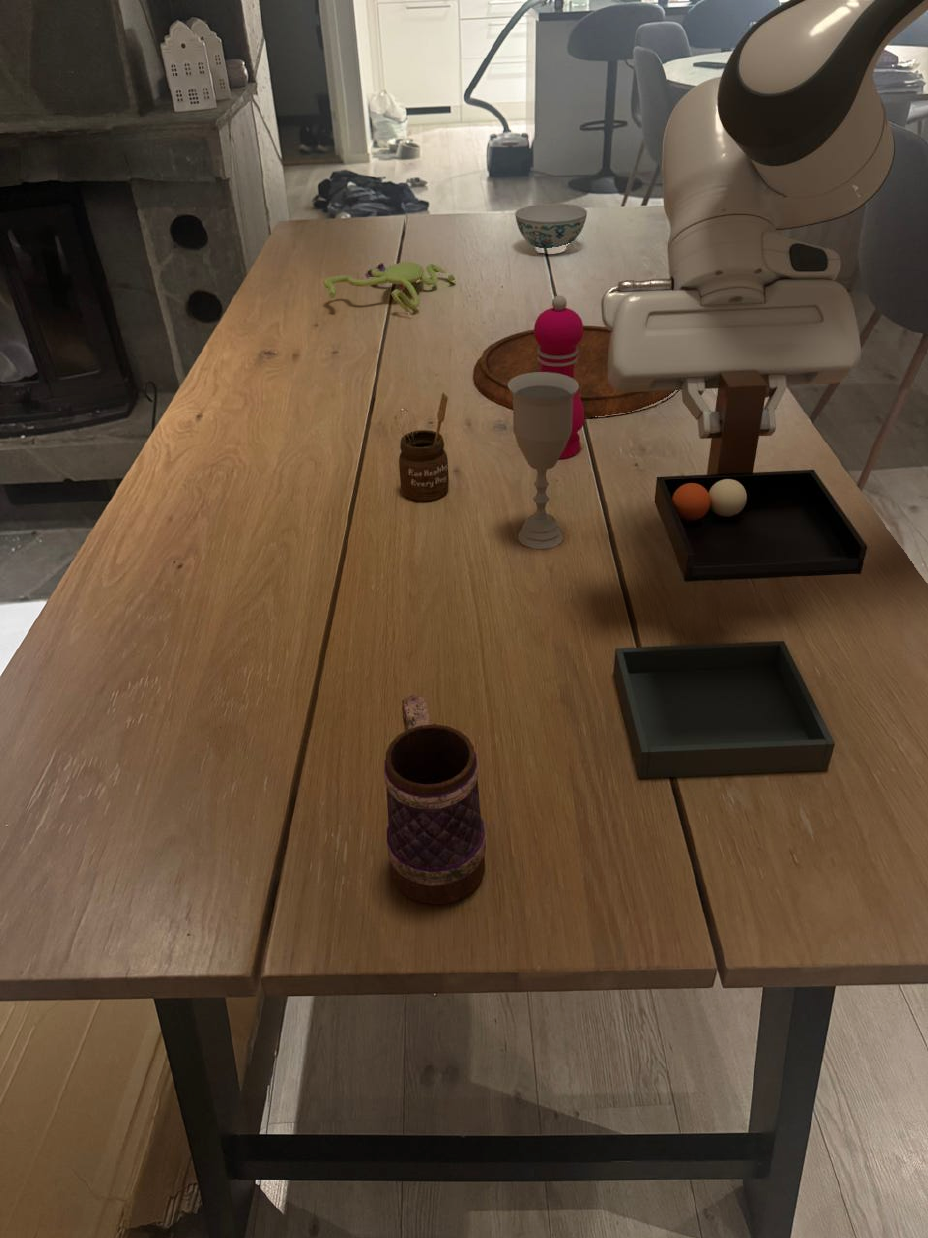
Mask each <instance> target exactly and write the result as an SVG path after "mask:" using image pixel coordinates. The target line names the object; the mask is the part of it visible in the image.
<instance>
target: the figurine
mask: <svg viewBox="0 0 928 1238" xmlns="http://www.w3.org/2000/svg"><path fill="white" fill-rule="evenodd" d="M426 272H427V273H428V275H429V277H430V278H429V277H427V276H426V275H424V274H425V270H424V267H423V266H422V265H420V264H418V263H416V262H399V263H395V264H392V265H389V266H387V267H385V265H384V263H383V262H382V263H380V264H378V265H377V266H376V267H374V268H373V269H372V268H371V269H369V270H367V272H366V273H364V276H365V277H367V278H369V277H377V278H372V279H367V278H366V279H355V278H352V277H351V276H350V275H345V274H344V275H334V276H330V277H327V278H325V279H324V280H323V286H324V288H326V289H328V290H329V292H328V296H329V298H330V299H334V298H335V297H336V294H337V288H336V286H335V284H337V283H348V284H349V285H351V286H354V287H362V288H364V287H369V286H376V285H381V284H384V283H390V284H393V285H398V288H395V289H394V290H393V291H391V293H390V295H391V296H392V298H393V301H395V302H396V303H397V304H398V305H399V306H400V307H401V308H402V309H403V310H404V311H405V313H406V312H409V313H411V311H410V310H409V308H411V309H413V310H416V309H417V308H418V307H419V306H420V298H419V295H418V293H417V291H416V289H415V287H414V285H413V284H412V283H414V281H417V280H419V279H420V280H421V282H422V283H424V284H426V285H427V286H429V285H435V284H436V283H437V284H438V276H437V272H441V273H449V272H448V271H446V270H445V269H444V268H442V267H441V266H438V265H436V264H434V263H430V264H428V265H427V266H426ZM431 279H432V280H431ZM455 279H456V277H455V276H454V275H453V274H451V275H449V276H448V280H449V281H453V280H455ZM448 280H447V281H448ZM449 281H448V282H449ZM437 284H436V285H437ZM436 285H435V286H436ZM405 289H407V291H408V292H409V294H410V296H411V298H412V301H411V300H410V299H409V297H408V296H407V295H406V294H405V293H404V290H405ZM401 290H403V292H402V291H401ZM399 297H400V298H401V299H402V300H403V301H404V302H405V304H407V305H405V304H404V302H403V301H402V300H401V299H400V298H399ZM408 307H409V308H408Z"/></svg>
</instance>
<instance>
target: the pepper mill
mask: <svg viewBox="0 0 928 1238" xmlns="http://www.w3.org/2000/svg"><path fill="white" fill-rule="evenodd" d="M567 305H568V304H567V299H566V297H565V296H563V295H560V294H559V295H556V296H554V297H553V298H552V301H551V307H550V308H548V309H545V310H544V311H542V312H541V313H540V314H539V315H538V316H537V318H536V320H535V323H534V326H533V330H534V337H535V340H536V341H537V343H538V344H539V345H540V347H539V348H538V354H539V355H538V361H539V362H540V363H541V372H550V373H558V374H562V375H566V376H568V377H571V378H573V379H574V364H575V362H577V360H578V356H577V354H578V348H577V347H576V345H577V344H578V343H579V342H580V341H581V339H582V337H583V326H584V324H583V321H582V318H581V317H580V315H579V314H578V313H577V312H576V311H575V310H573V309H571V308H568V307H567ZM584 424H585V418H584V409H583V405H582V402H581V399H580V397H579V394H578V392H577V391H576V393H575V395H574V397H573V419H572V433H571V435H570V437H569V440H568V442H567V445H566V447H565V449H564V451H563V452H562V454H561V456H560V457H559V459H558V460H563V459H566V458H571V457H573V456H575V455H576V454H577V453H578V452H579V450H580V441H581V438H580V437H581V436H580V435H579V433H578V432H579V431H580V430H581V429H582V428H583V426H584Z"/></svg>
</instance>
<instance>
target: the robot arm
mask: <svg viewBox="0 0 928 1238" xmlns="http://www.w3.org/2000/svg"><path fill="white" fill-rule="evenodd" d="M927 12H928V0H787V1H786V2H784V3H782V4H780V5H779V6H777V7H776V8H775V9H772V10H771V11H770V12H768V13H767V14H765V15H764V16H763V17H761V18H760V19H759V20H758V21H757V22H755V23H754V24H753V25H752V26H751V27H750V28H749V29H748V30H747V31H746V32H745V33H744V35H743V36H742V37H741V39H740V40H739V42H737V44H736V46H735V47H734V49H733V51H732V52H731V54H730V56H729V57H728V59H727V62H726V64H725V65H724V68H723V70H722V74H721V76H718V77H714V78H710V79H708V80H705V81H703V82H700V83H699V84H698V85H696V86H694V87H693V88H691V89H690V90H688V91H687V92H686V93H685V94H684V95H683V96H682V97H680V99H679V100H678V101H677V103H676V104H675V106H674V107H673V109H672V111H671V113H670V115H669V117H668V120H667V123H666V125H665V130H664V133H663V141H662V155H661V158H662V159H661V160H662V161H661V162H662V163H661V176H662V177H661V179H662V199H663V209H664V212H665V215H666V217H667V220H668V222H669V227H670V229H669V230H670V232H669V237H668V242H667V249H666V250H667V260H668V261H667V263H668V275H669V276H668V278H652V279H646V280H634V279H628V280H627V279H626V280H621V281H618V283H617V285H615V286H613V287H610V288H609V289H607V291H605V293H604V294H603V296H602V298H601V302H600V303H601V306H600V307H601V319H602V322H603V325H604V327H606V328H607V329H608V330H609V331H610V339H609V348H608V382H609V383H610V384H611V386H612V387H613V388H614V389H615V390H616V391H617V392H643V391H667V390H679V391H681V399H682V400H681V401H682V404H683V405H684V406H685V407H686V408H687V410H688V411H689V413H690V414H691V415H692V416H693V418H695V420H696V421H697V429H698V430H697V431H698V438H699V440H705V439H706V440H707V439H709V440H710V439H711V438H718V437H719V435H720V434H721V430H722V427H721V423H720V420H721V415H720V411H718V412H715V411H711V409H710V407H709V406H708V405H707V403H706V402H705V400H704V398H703V397H702V395H703V394H704V392H705V391H706V390H710V389H711V390H712V389H718V385H719V377H720V372H735V371H758V373H759V374H760V375H761V377H762V378H763V380H764V381H765V382H766V384H767V390H766V396H765V399H767V401H766V403H765V404H764V408H763V415H762V421H761V427H760V433H759V437H771V436H772V435H774V433H775V432H776V430H777V419H776V410H777V408H778V406H779V404H780V402H781V400H782V398H783V396H784V395H785V392H786V390H787V388H788V387H787V386H807V385H831V384H832V385H833V384H839V383H840V382H842V381H843V380H845V379H846V378H847V376H849V375H850V374H851V373H852V371H854V369H855V368H856V367H857V365H858V363H859V362H860V360H861V358H862V357H861V356H862V347H861V338H860V332H859V331H860V330H859V325H858V321H857V317H856V313H855V308H854V304H853V301H852V298H851V295H850V294H849V292H848V291H847V289H846V287H844V286H843V285H842V284H840V283H839V282H838V281H836V279H837V277H838V275H839V273H840V271H841V268H842V267H841V265H842V264H841V262H842V261H841V258H840V257H841V256H840V254H839V253H838V252H837V251H835V250H834V249H831V248H828V247H824V246H820V245H817V244H811V243H808V242H804V241H801V240H798V239H795V238H791V237H788V236H786V235H783V234H780V233H778V232H776V231H784V230H786V231H787V230H793V229H798V228H803V227H809V226H813V225H818V224H823V223H826V222H830V221H834V220H835V221H836V220H838V219H841V218H844V217H846V216H848V215H850V214H852V213H854V212H856V211H857V210H859V209H860V208H862V207H863V206H864V205H865V204H867V203H868V202H869V201H871V199H872V198H873V197H874V196H875V195H876V194H877V193H878V192H879V190H880V189H881V188H882V187H883V185H884V183H885V182H886V180H887V178H888V176H889V175H890V173H891V171H892V167H893V164H894V160H895V155H896V141H895V140H896V139H895V137H894V136H895V135H894V133H893V130H892V128H891V124H890V121H889V117H888V114H887V112H886V109H885V106H884V103H883V101H882V98H881V96H880V95H879V92H878V89H877V85H876V84H875V83H876V82H875V80H874V76H873V75H874V71H875V69H876V66H877V63H878V61H879V60H880V57H881V55H882V53H883V52H884V50H885V49H886V48H887V46H888V45H889V44H890V43H891V41H893V40H894V38H896V37H897V36H898V35H900V34H901V33H902V32H903V31H904V30H906V29H907V28H908V27H909V26H911V25H912V24H913V23H914V22H916V20H918V19H919V18H920V17H922V16H923V15H924V14H925V13H927Z"/></svg>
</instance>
